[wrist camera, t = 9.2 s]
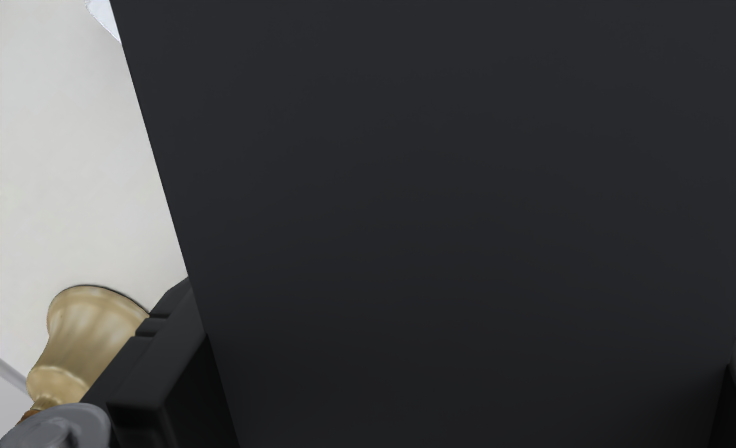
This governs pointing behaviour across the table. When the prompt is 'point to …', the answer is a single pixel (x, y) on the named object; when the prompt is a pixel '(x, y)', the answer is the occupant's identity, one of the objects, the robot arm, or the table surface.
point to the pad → (451, 213)
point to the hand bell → (80, 344)
